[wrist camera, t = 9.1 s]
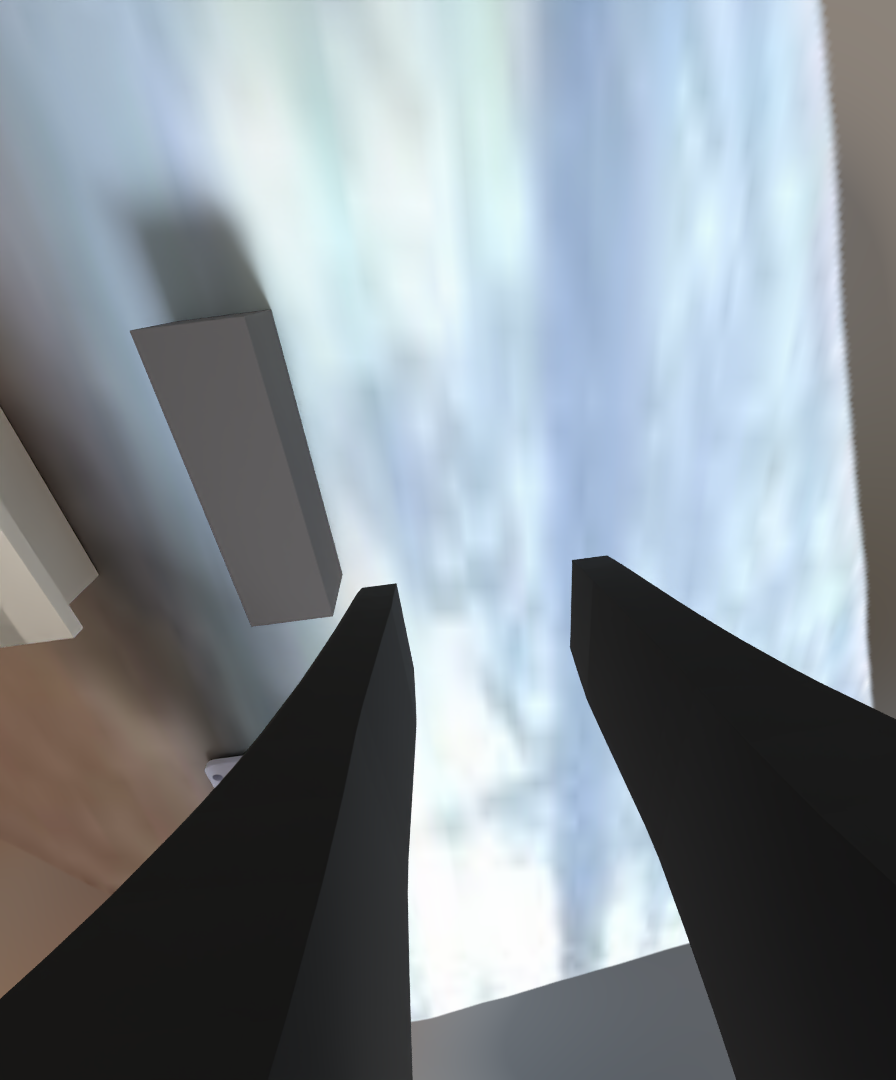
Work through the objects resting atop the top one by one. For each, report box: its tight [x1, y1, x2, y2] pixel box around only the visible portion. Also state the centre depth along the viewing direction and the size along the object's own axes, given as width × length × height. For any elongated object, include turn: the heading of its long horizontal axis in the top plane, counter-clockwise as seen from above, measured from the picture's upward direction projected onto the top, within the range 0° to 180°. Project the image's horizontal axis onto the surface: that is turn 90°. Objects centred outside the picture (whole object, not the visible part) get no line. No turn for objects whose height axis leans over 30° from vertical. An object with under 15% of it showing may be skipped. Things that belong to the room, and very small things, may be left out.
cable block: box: [130, 310, 342, 627], centre depth 16 cm, size 10×3×3 cm, turn 6°
